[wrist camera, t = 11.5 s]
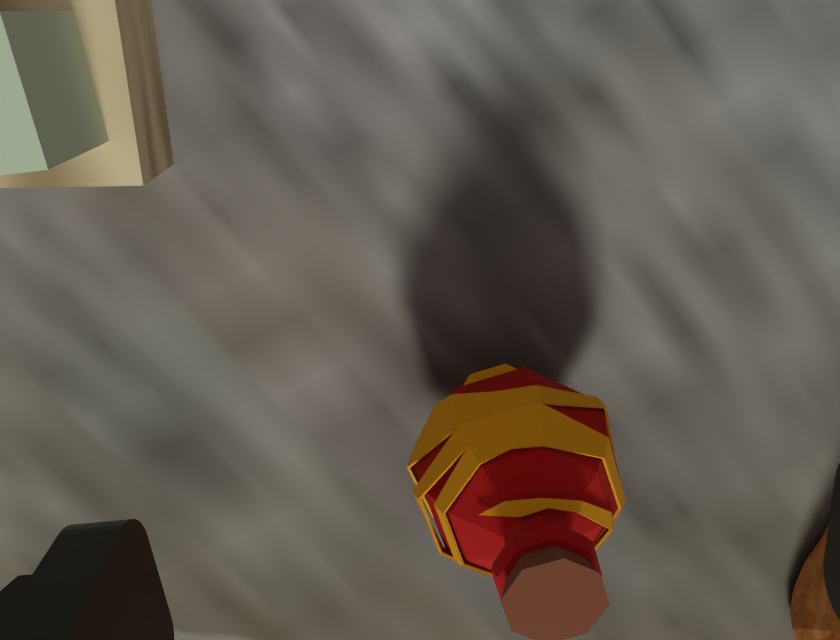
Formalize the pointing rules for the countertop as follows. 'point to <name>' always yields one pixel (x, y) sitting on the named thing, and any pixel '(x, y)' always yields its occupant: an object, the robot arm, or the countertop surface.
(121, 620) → the robot arm
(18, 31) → the sage block
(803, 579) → the bread
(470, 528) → the potion bottle
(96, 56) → the oak block
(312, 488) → the countertop surface
